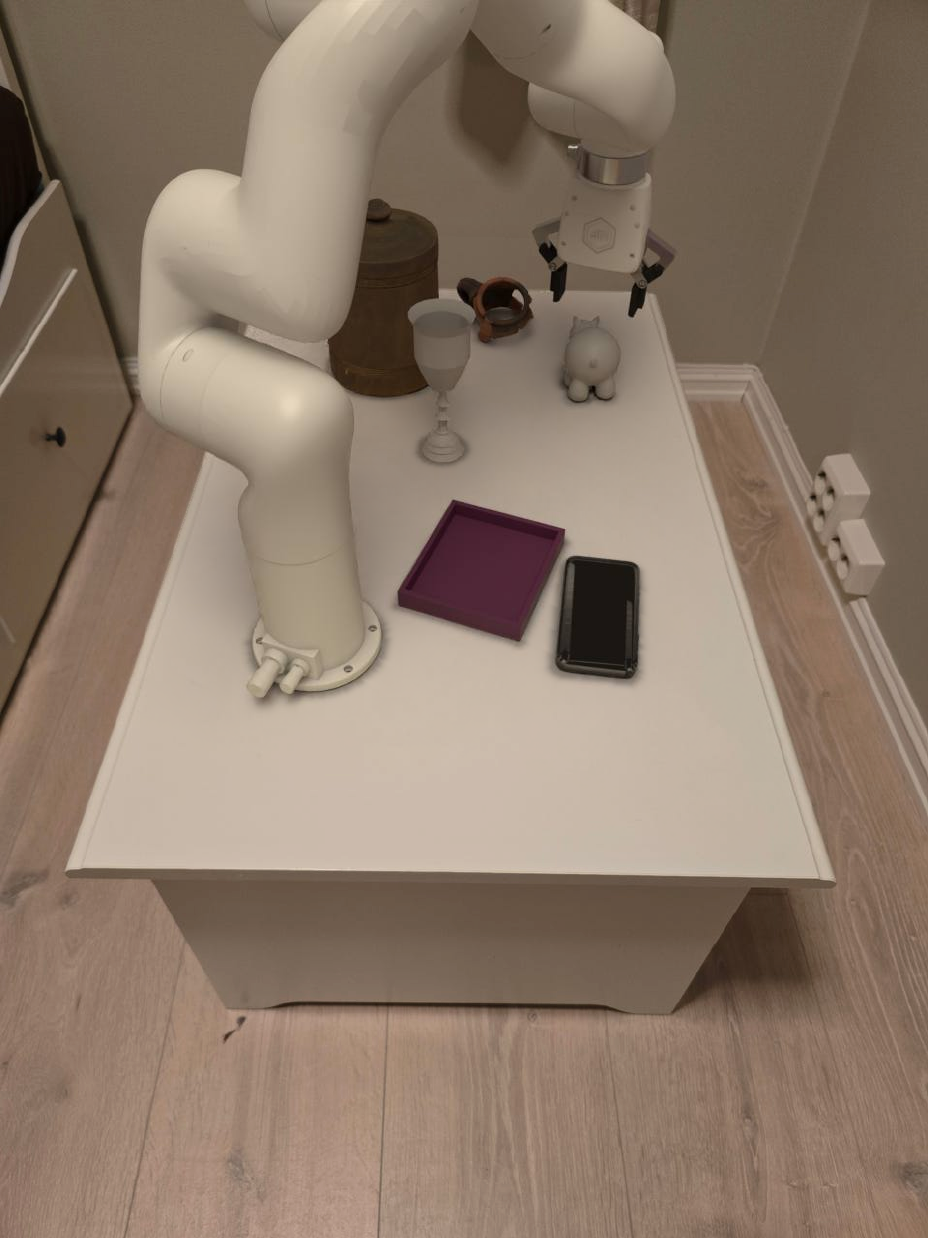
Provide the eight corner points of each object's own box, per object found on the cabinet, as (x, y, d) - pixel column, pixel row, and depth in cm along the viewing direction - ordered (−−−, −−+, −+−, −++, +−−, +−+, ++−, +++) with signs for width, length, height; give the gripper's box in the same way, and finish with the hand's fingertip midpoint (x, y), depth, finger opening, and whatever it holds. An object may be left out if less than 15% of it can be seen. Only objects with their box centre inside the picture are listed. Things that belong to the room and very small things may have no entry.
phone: (555, 662, 86) (566, 554, 95) (554, 670, 86) (565, 561, 96) (638, 672, 85) (641, 562, 95) (636, 680, 86) (639, 569, 95)
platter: (519, 641, 89) (520, 627, 87) (398, 605, 92) (397, 591, 90) (563, 543, 98) (565, 528, 97) (452, 513, 101) (452, 498, 100)
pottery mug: (541, 317, 130) (547, 286, 122) (510, 370, 129) (515, 342, 121) (468, 280, 131) (470, 247, 123) (437, 332, 129) (437, 301, 121)
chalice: (475, 434, 111) (478, 300, 98) (470, 469, 107) (472, 333, 93) (416, 430, 111) (412, 296, 98) (409, 464, 107) (403, 329, 93)
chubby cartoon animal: (604, 353, 123) (612, 296, 117) (619, 404, 115) (629, 346, 109) (552, 355, 123) (558, 297, 117) (564, 406, 115) (570, 347, 109)
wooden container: (438, 334, 126) (435, 173, 110) (443, 395, 116) (441, 229, 100) (333, 337, 125) (314, 175, 109) (329, 399, 116) (308, 232, 99)
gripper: (528, 163, 98) (520, 306, 111) (683, 188, 94) (656, 333, 107) (548, 137, 103) (539, 277, 116) (697, 160, 99) (670, 303, 112)
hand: (595, 304), depth 111 cm, fingers open, 9 cm apart
